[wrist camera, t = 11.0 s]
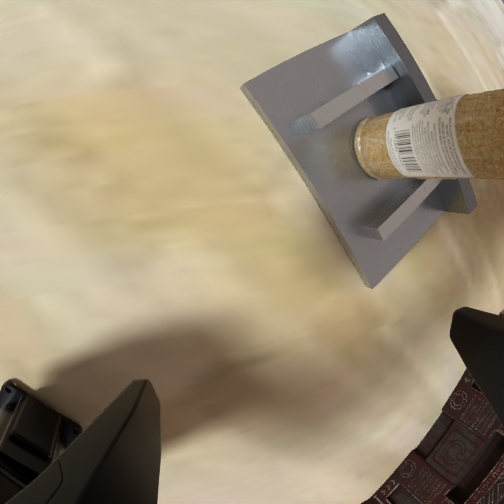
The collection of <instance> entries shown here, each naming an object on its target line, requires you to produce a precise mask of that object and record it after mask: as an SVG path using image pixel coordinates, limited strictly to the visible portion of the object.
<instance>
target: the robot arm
mask: <svg viewBox="0 0 504 504" xmlns="http://www.w3.org/2000/svg"><path fill="white" fill-rule="evenodd" d="M450 338H451V341H452V342H453V344H454V346H455V348H456V349H457V351H458V353H459V355H460V357H461V358H462V360H463V362H464V364H465V366H466V367H467V369H468V371H469V373H470V375H471V376H472V378H473V379H474V381H475V382H476V384H477V385H478V387H479V388H480V390H481V391H482V393H483V395H484V396H485V398H486V399H487V401H488V402H489V404H490V405H491V407H492V409H493V410H494V412H495V413H496V415H497V417H498V418H499V420H500V422H501V423H502V425H503V427H504V317H503V316H499V315H495V314H492V313H488V312H484V311H480V310H476V309H473V308H469V307H462V308H460V309H457V310H455V311H454V313H453V317H452V323H451V328H450ZM7 387H8V388H9V389H10V390H9V389H8V388H7ZM73 429H75V430H77V431H75V430H73ZM160 462H161V425H160V402H159V399H158V397H157V395H156V393H155V391H154V388H153V386H152V384H151V382H150V381H149V380H148V379H137V380H134V381H132V382H131V383H130V384H129V385H128V386H127V387H126V389H125V390H124V391H123V392H122V393H121V394H120V395H119V396H118V397H117V398H116V399H115V400H114V401H113V402H112V403H111V404H110V405H109V406H108V407H107V408H106V409H105V410H104V411H103V412H102V413H101V414H100V415H99V416H98V417H97V418H96V419H95V420H94V421H93V422H92V423H91V424H90V425H89V426H88V427H87V428H86V429H85V430H84V431H83V432H82V427H81V426H80V425H78V424H77V423H75V422H73V421H71V420H69V419H68V418H66V417H64V416H62V415H61V414H59V413H57V412H55V411H54V410H52V409H50V408H49V407H47V406H46V405H44V404H42V403H41V402H39V401H38V400H36V399H34V398H33V397H31V396H30V395H28V394H27V393H25V392H24V391H22V390H21V389H20V388H18V387H17V386H15V385H14V384H12V383H11V382H8V381H6V382H5V383H4V384H3V386H2V388H1V391H0V504H157V501H158V486H159V474H160Z"/></svg>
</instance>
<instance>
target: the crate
mask: <svg viewBox="0 0 504 504" xmlns="http://www.w3.org/2000/svg"><path fill="white" fill-rule="evenodd" d="M499 316H503V317H504V314H503V313H501V312H500V314H499ZM442 411H443V412H442V413H441V415H440V416H439V418H438V419H437V420H436V422H435V423H434V425H433V426H432V428H431V429H430V430H429V432H428V433H427V434H426V436H425V437H424V438H423V440H422V441H421V442H420V444H419V445H418V446H417V448H416V449H415V450H412V451H411V452H410V453H409V455H408V456H407V457H406V458H405V459H404V461H403V462H402V463H401V464H400V466H399V467H398V468H397V469H396V470H395V471H394V473H393V474H392V475H391V476H390V477H389V478H388V479H387V480H386V482H385V483H384V484H383V485H382V486H381V487H380V488H379V489H378V490H377V491H376V492H375V493H374V494H373V495H372V496H371V498H370V499H368V500H366V501H364V502H363V503H361V504H504V427H503V425H502V423H501V422H500V420H499V418H498V417H497V415H496V413H495V412H494V410H493V409H492V407H491V405H490V404H489V402H488V401H487V399H486V398H485V396H484V395H483V393H482V391H481V390H480V388H479V387H478V385H477V384H476V382H475V381H474V379H473V378H472V376H471V375H470V373H469V371H468V369H466V370H465V372H464V374H463V376H462V377H461V379H460V381H459V382H458V384H457V386H456V387H455V389H454V391H453V392H452V394H451V396H450V397H449V399H448V400H447V402H446V403H445V405H444V406H443V408H442Z"/></svg>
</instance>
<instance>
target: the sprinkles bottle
mask: <svg viewBox="0 0 504 504" xmlns="http://www.w3.org/2000/svg"><path fill="white" fill-rule="evenodd" d="M354 147H355V153H356V155H357V159H358V161H359V163H360V165H361V166H362V168H363V169H364V171H365V172H366V173H367V174H369V175H370V176H372V177H374V178H376V179H378V180H390V179H392V178H418V179H457V178H467V179H469V178H470V179H473V178H480V179H485V178H490V179H504V89H501V90H494V91H486V92H483V93H477V94H471V95H470V94H465V95H460V96H455V97H450V98H446V99H441V100H437V101H432V102H428V103H423V104H419V105H415V106H411V107H407V108H402V109H400V110H397V111H395V112H391V113H387V114H384V115H380V116H370V117H367V118H365V119H364V120H363V121H361V122H360V124H359V126H358V128H357V131H356V133H355V139H354Z"/></svg>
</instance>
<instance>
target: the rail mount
mask: <svg viewBox="0 0 504 504" xmlns="http://www.w3.org/2000/svg"><path fill="white" fill-rule="evenodd" d="M240 89H241V90H242V91H243V93H244V94H245V96H246V97H247V98H248V100H249V101H250V102H251V104H252V105H253V107H254V108H255V109H256V111H257V112H258V114H259V115H260V116H261V118H262V119H263V121H264V122H265V124H266V125H267V126H268V128H269V129H270V131H271V132H272V134H273V135H274V137H275V138H276V140H277V141H278V143H279V144H280V146H281V147H282V148H283V150H284V151H285V153H286V154H287V156H288V157H289V159H290V161H291V162H292V164H293V165H294V167H295V168H296V170H297V171H298V173H299V174H300V176H301V177H302V179H303V181H304V182H305V184H306V185H307V187H308V188H309V190H310V192H311V193H312V195H313V196H314V198H315V200H316V201H317V203H318V205H319V206H320V208H321V209H322V211H323V213H324V214H325V216H326V218H327V219H328V221H329V223H330V224H331V226H332V228H333V229H334V231H335V233H336V234H337V236H338V238H339V240H340V241H341V243H342V245H343V246H344V248H345V250H346V252H347V253H348V255H349V257H350V259H351V260H352V262H353V264H354V266H355V268H356V269H357V271H358V273H359V275H360V277H361V278H362V280H363V282H364V284H365V286H366V287H369V288H371V289H373V288H374V287H375V286H376V285H377V284H378V283H379V282H380V281H381V280H382V279H383V278H384V277H385V276H386V275H387V274H388V273H389V272H390V271H391V270H392V269H393V268H394V266H395V265H396V264H397V263H398V262H399V261H400V260H401V259H402V258H403V257H404V256H405V255H406V254H407V253H408V252H409V250H410V249H411V248H412V247H413V246H414V245H415V244H416V243H417V242H418V241H419V239H420V238H421V237H422V236H423V235H424V234H425V233H426V232H427V231H428V229H429V228H430V227H431V226H432V225H433V224H434V222H435V221H436V220H437V219H438V218H439V217H440V215H441V214H442V213H443V212H444V211H447V212H455V213H463V214H470V213H471V212H472V211H473V209H474V208H475V206H476V205H477V203H476V199H475V196H474V193H473V190H472V187H471V184H470V181H469V179H467V178H457V179H418V178H392V179H390V180H378V179H376V178H374V177H372V176H370V175H369V174H367V173H366V172H365V171H364V169H363V168H362V166H361V165H360V163H359V161H358V159H357V155H356V153H355V147H354V139H355V133H356V131H357V128H358V126H359V124H360V122H361V121H363V120H364V119H365V118H367V117H370V116H380V115H384V114H387V113H391V112H395V111H397V110H400V109H402V108H407V107H411V106H415V105H419V104H423V103H428V102H432V101H436V99H435V97H434V95H433V93H432V91H431V89H430V87H429V85H428V83H427V81H426V79H425V78H424V76H423V74H422V72H421V70H420V69H419V67H418V65H417V63H416V62H415V60H414V58H413V56H412V55H411V53H410V51H409V50H408V48H407V47H406V45H405V43H404V42H403V40H402V39H401V37H400V36H399V34H398V32H397V31H396V29H395V28H394V26H393V25H392V24H391V22H390V21H389V19H388V18H387V16H386V15H385V13H383V14H380V15H377V16H374V17H372V18H370V19H369V20H367V21H366V22H364V23H362V24H361V25H359V26H358V27H356V28H355V29H353V30H351V31H350V32H348V33H345V34H343V35H340V36H338V37H336V38H333V39H331V40H329V41H327V42H324V43H322V44H320V45H318V46H316V47H313V48H311V49H309V50H307V51H305V52H303V53H301V54H299V55H297V56H295V57H293V58H291V59H289V60H287V61H285V62H283V63H281V64H279V65H277V66H275V67H273V68H271V69H269V70H268V71H266V72H264V73H262V74H260V75H258V76H257V77H255V78H253V79H251V80H249V81H248V82H246V83H244V84H243V85H242V86H241V87H240Z"/></svg>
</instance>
